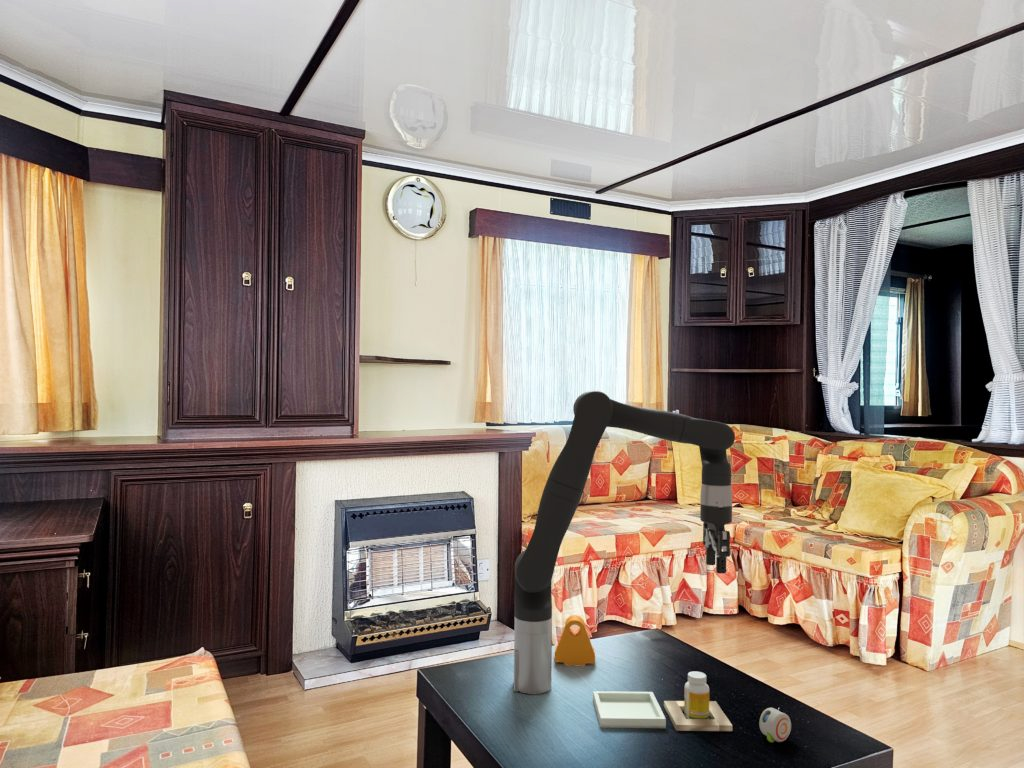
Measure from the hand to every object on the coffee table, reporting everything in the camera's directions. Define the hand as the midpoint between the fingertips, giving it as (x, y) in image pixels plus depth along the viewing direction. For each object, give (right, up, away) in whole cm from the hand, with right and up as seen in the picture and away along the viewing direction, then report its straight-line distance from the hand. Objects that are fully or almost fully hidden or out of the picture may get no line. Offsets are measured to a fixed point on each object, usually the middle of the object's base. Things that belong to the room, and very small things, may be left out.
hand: (715, 568), depth 171 cm
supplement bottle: (-9, -29, -17) cm, 35 cm away
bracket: (-33, -30, +17) cm, 48 cm away
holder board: (-9, -29, -17) cm, 35 cm away
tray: (-24, -29, -15) cm, 40 cm away
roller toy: (+5, -29, -26) cm, 39 cm away
